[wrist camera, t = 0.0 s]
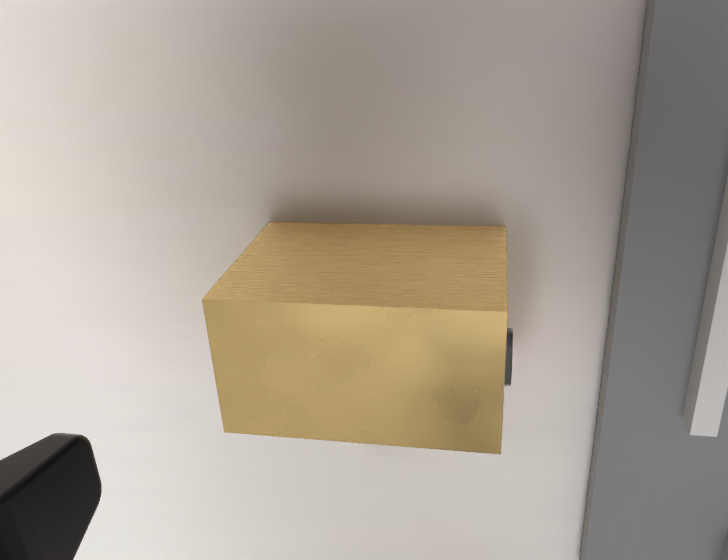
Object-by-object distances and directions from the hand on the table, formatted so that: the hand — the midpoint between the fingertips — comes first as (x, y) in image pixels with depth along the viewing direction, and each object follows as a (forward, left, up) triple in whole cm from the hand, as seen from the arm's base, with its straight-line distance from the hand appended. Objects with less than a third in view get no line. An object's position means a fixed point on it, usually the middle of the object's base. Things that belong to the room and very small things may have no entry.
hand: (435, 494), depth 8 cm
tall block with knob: (-4, +3, -15) cm, 16 cm away
